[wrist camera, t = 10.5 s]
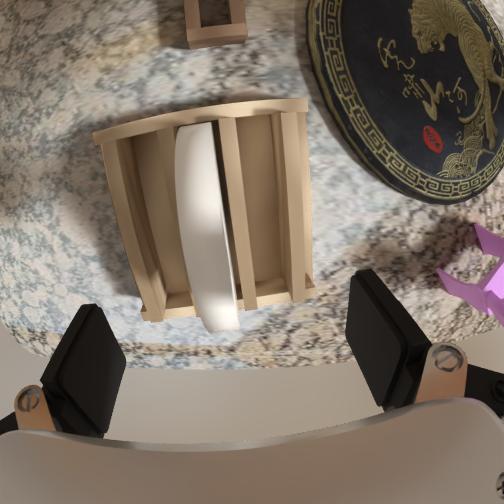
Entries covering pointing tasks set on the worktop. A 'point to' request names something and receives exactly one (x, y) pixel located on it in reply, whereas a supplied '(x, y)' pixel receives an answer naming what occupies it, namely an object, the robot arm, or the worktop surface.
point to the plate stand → (215, 34)
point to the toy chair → (493, 284)
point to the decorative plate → (414, 90)
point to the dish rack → (234, 197)
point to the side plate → (205, 228)
